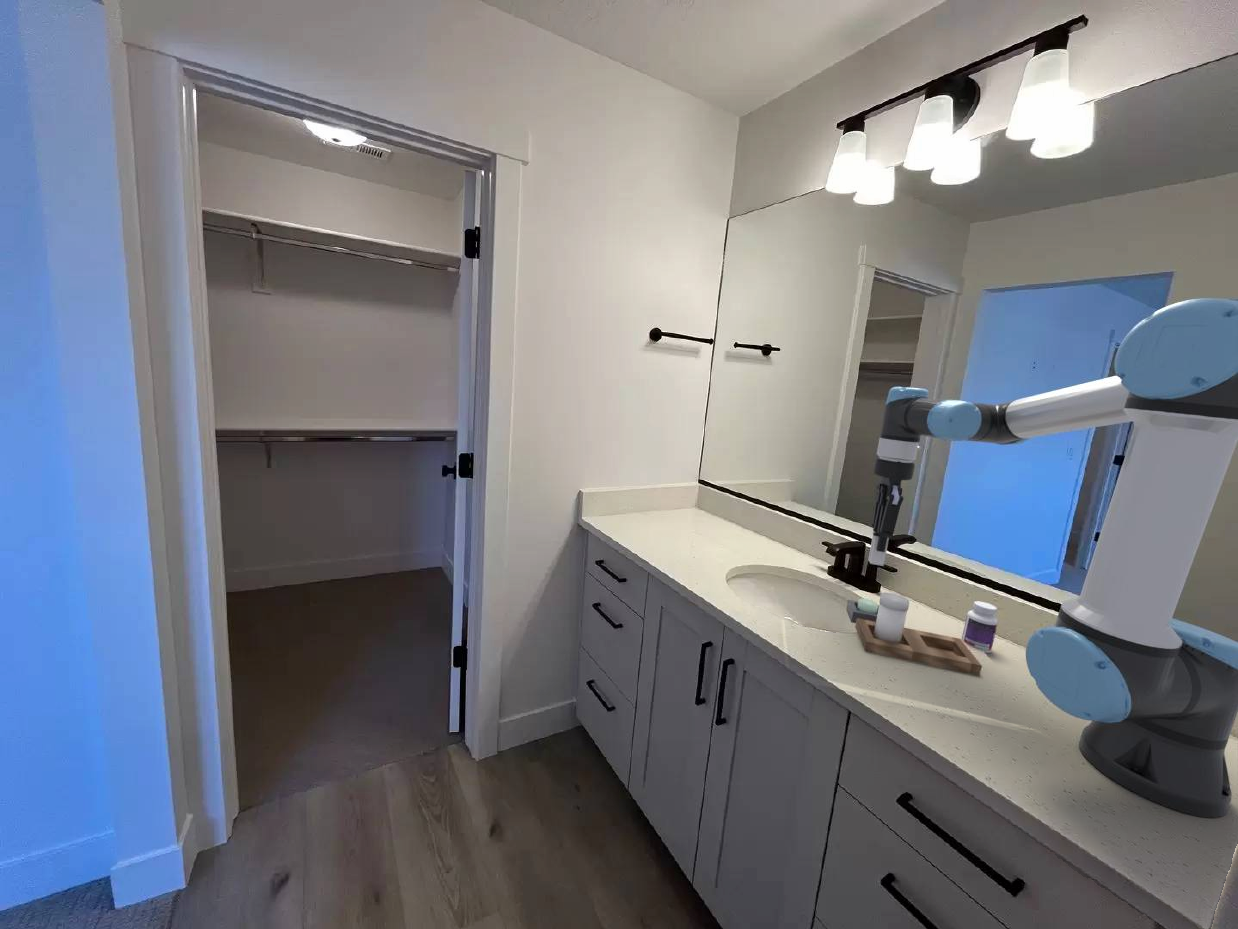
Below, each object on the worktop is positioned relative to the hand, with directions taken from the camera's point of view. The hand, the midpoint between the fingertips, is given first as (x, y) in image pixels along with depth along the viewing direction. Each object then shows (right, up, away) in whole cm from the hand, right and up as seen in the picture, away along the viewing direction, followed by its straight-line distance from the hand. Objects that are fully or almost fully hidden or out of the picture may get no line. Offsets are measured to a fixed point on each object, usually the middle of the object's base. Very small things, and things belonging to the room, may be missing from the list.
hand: (875, 563), depth 113 cm
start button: (-1, -12, +2) cm, 13 cm away
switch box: (-1, -14, +2) cm, 14 cm away
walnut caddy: (+2, -17, -10) cm, 19 cm away
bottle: (-2, -15, -9) cm, 17 cm away
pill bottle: (+19, -18, -4) cm, 26 cm away
